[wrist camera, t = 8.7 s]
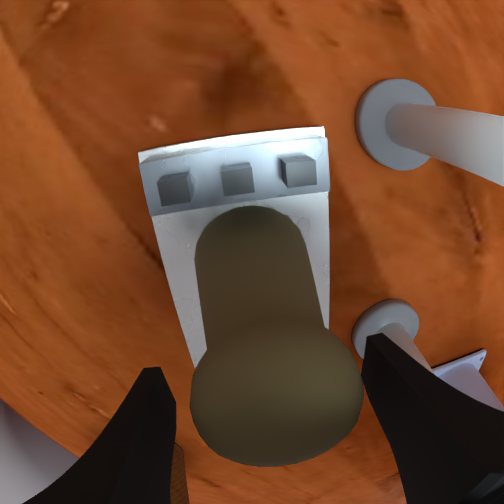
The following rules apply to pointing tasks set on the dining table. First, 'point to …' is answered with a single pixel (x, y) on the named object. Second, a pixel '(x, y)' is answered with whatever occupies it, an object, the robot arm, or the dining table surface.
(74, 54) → the dining table surface
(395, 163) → the post
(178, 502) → the disposable coffee cup
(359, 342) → the post
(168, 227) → the board
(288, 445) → the cork
